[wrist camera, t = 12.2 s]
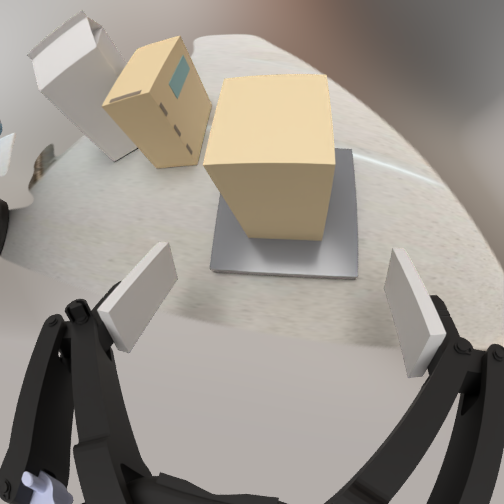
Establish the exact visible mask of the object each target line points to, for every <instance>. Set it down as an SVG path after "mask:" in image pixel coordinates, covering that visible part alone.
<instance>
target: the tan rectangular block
mask: <svg viewBox="0 0 504 504" xmlns="http://www.w3.org/2000/svg"><path fill="white" fill-rule="evenodd" d="M203 166H204V168H205V169H206V171H207V172H208V174H209V176H210V177H211V179H212V180H213V182H214V184H215V185H216V187H217V188H218V190H219V192H220V193H221V195H222V196H223V198H224V200H225V201H226V203H227V204H228V206H229V208H230V209H231V211H232V212H233V214H234V216H235V217H236V219H237V220H238V222H239V224H240V225H241V227H242V228H243V230H244V232H245V233H246V235H247V236H248V238H268V239H292V240H314V241H322V238H323V233H324V228H325V222H326V217H327V212H328V206H329V201H330V195H331V189H332V183H333V177H334V171H335V150H334V137H333V125H332V115H331V106H330V98H329V90H328V82H327V75H315V74H282V75H260V76H247V77H236V78H227V79H224V81H223V85H222V88H221V92H220V96H219V100H218V103H217V107H216V111H215V115H214V119H213V123H212V127H211V131H210V136H209V140H208V144H207V148H206V153H205V157H204V162H203Z"/></svg>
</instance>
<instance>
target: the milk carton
mask: <svg viewBox="0 0 504 504" xmlns="http://www.w3.org/2000/svg"><path fill="white" fill-rule="evenodd" d="M27 56H28V57H29V58H30V59H32V63H33V68H34V72H35V76H36V80H37V84H38V88H39V91H40V92H41V93H42V94H43V95H44V96H45V97H46V98H48V100H49V101H50V102H51V103H52V104H54V106H56V107H57V108H58V109H59V110H60V111H61V112H62V113H63V114H64V115H65V116H66V117H67V118H68V119H69V120H70V121H71V122H72V123H73V124H74V125H75V126H76V127H77V128H78V129H79V130H81V131H82V132H83V133H84V134H85V135H86V136H87V137H88V138H89V139H90V140H91V141H92V142H93V143H94V144H95V145H96V146H97V147H99V148H100V149H101V150H102V151H103V152H104V153H105V154H106V155H107V156H108V157H109V158H110V159H111V160H113V161H116V160H118V159H120V158H121V157H123V156H125V155H126V154H128V153H130V152H131V151H133V150H135V149H136V148H138V147H137V146H136V145H135V144H134V143H133V142H132V140H131V139H130V138H129V137H128V136H127V135H126V134H125V133H124V132H123V130H122V129H121V128H120V127H119V126H118V125H117V124H116V122H115V121H114V120H113V119H112V118H111V117H110V116H109V115H108V113H107V112H106V111H105V110H104V109H103V108H102V107H101V106H102V105H103V103H104V101H105V99H106V97H107V96H108V94H109V92H110V90H111V89H112V87H113V85H114V84H115V82H116V80H117V79H118V77H119V75H120V74H121V72H122V71H123V69H124V68H125V66H126V65H127V63H126V61H125V59H124V58H123V57H122V55H121V54H120V52H119V50H118V49H117V48H116V46H115V45H114V43H113V42H112V40H111V39H110V37H109V36H108V34H107V33H106V31H105V30H104V28H103V27H102V26H101V25H99V24H98V23H96V22H95V21H93V20H91V19H90V18H88V17H87V16H86V15H85V13H84V12H83V10H81V11H80V12H78V13H77V14H75V15H74V16H73V17H71V18H70V19H68V20H67V21H66V22H64V23H63V24H62V25H60V26H59V27H58V28H57V29H55V30H54V31H53V32H52V33H50V34H49V35H48V36H47V37H46V38H44V39H43V40H42V41H41V42H40V43H39V44H37V45H36V46H35V47H34V48H33V49H32V50H31V51H30V52H29V53H28V54H27Z"/></svg>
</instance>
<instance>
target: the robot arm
mask: <svg viewBox="0 0 504 504" xmlns="http://www.w3.org/2000/svg"><path fill="white" fill-rule="evenodd" d="M1 132H2V124H1V121H0V135H1ZM8 216H9V210H8V205H7V203H6V202H5V201H3V200H1V199H0V253H1V250H2V247H3V243H4V239H5V235H6V231H7V225H8ZM177 280H178V277H177V273H176V269H175V265H174V261H173V257H172V253H171V249H170V245H169V242H158V243H157V244H156V245H155V246H154V247H153V248H152V249H151V250H150V251H149V252H148V253H147V254H146V255H145V256H144V258H143V259H142V260H141V261H140V262H139V263H138V264H137V265H136V266H135V267H134V268H133V269H132V270H131V272H130V273H129V274H128V275H127V276H126V277H125V278H124V279H123V280H122V281H120V282H118V283H117V284H115V285H114V286H113V287H112V288H111V289H110V290H109V291H108V293H106V294H105V296H104V298H102V299H101V300H100V301H99V303H98V304H97V305H96V306H95V307H94V308H93V310H92V311H91V310H90V308H89V306H88V304H87V302H86V300H84V299H77V300H74V301H72V302H71V303H70V304H68V305H67V307H66V308H65V313H66V314H67V316H68V318H69V320H70V321H64V319H63V318H62V316H61V315H60V314H55V315H52V316H50V317H49V318H48V319H47V320H46V321H45V323H44V325H43V327H42V329H41V332H40V335H39V337H38V340H37V342H36V345H35V348H34V351H33V353H32V356H31V359H30V362H29V365H28V368H27V371H26V374H25V378H24V381H23V384H22V388H21V392H20V395H19V399H18V403H17V407H16V412H15V417H14V421H13V426H12V433H11V438H10V444H9V449H8V451H7V453H6V456H5V458H4V461H3V463H2V466H1V468H0V498H1V499H2V500H4V501H5V502H7V503H9V504H72V503H73V497H72V495H71V494H70V493H68V491H67V485H68V479H69V470H70V469H69V467H70V446H71V431H72V421H73V412H74V409H75V417H76V425H77V432H78V438H79V443H78V444H77V445H74V447H73V454H74V459H75V464H76V469H77V473H78V477H79V481H80V485H81V489H82V492H83V496H84V499H85V503H82V504H287V503H284V502H281V501H278V499H279V498H276V497H266V496H258V495H250V494H238V495H215V494H211V493H209V492H207V491H205V490H203V489H201V488H199V487H197V486H196V485H194V484H192V483H190V482H188V481H186V480H183V479H179V478H176V477H173V476H170V475H167V474H164V473H160V474H159V476H152V474H151V472H150V471H149V469H148V468H147V466H146V465H145V464H144V462H143V460H142V458H141V456H140V453H139V450H138V447H137V444H136V441H135V438H134V435H133V432H132V429H131V425H130V422H129V419H128V415H127V411H126V408H125V404H124V400H123V396H122V392H121V388H120V384H119V379H118V375H117V371H116V365H115V360H114V355H113V351H112V349H111V345H112V344H113V343H115V345H116V347H117V348H118V350H120V351H123V352H127V353H130V352H131V350H132V348H133V347H134V345H135V343H136V342H137V341H138V339H139V337H140V336H141V334H142V333H143V331H144V330H145V328H146V326H147V325H148V323H149V322H150V320H151V319H152V317H153V316H154V314H155V313H156V311H157V310H158V308H159V307H160V305H161V304H162V302H163V300H164V299H165V297H166V296H167V295H168V293H169V292H170V290H171V289H172V287H173V286H174V284H175V283H176V281H177ZM384 290H385V293H386V296H387V299H388V302H389V306H390V309H391V312H392V316H393V319H394V323H395V326H396V330H397V334H398V338H399V342H400V346H401V350H402V354H403V358H404V362H405V367H406V371H407V376H408V378H411V377H421V376H423V375H424V373H425V371H426V370H427V368H428V372H429V377H428V378H427V380H426V381H425V383H424V384H423V386H422V388H421V390H420V392H419V393H418V395H417V397H416V398H415V400H414V401H413V403H412V404H411V406H410V407H409V409H408V410H407V412H406V413H405V415H404V416H403V417H402V419H401V420H400V422H399V423H398V424H397V426H396V427H395V428H394V430H393V431H392V433H391V434H390V435H389V436H388V438H387V439H386V440H385V441H384V443H383V444H382V445H381V446H380V447H379V449H378V450H377V451H376V452H375V453H374V455H373V456H372V457H371V458H370V459H369V461H368V462H367V463H366V464H365V465H364V466H363V467H362V468H361V469H360V470H359V471H358V472H357V474H355V475H354V476H353V478H352V479H351V480H350V481H349V482H348V483H347V484H346V485H345V486H343V487H342V489H340V490H339V491H338V492H337V493H336V494H335V495H334V496H333V497H331V498H330V499H329V500H328V501H327V502H326V503H324V504H388V503H389V501H390V500H391V499H392V498H393V496H394V495H395V494H396V493H397V492H398V490H399V489H400V488H401V487H402V485H403V484H404V483H405V481H406V480H407V479H408V477H409V476H410V475H411V473H412V472H413V471H414V469H415V468H416V466H417V465H418V463H419V462H420V460H421V459H422V457H423V456H424V454H425V453H426V451H427V450H428V448H429V447H430V445H431V443H432V442H433V440H434V438H435V437H436V435H437V433H438V431H439V430H440V428H441V426H442V424H443V422H444V420H445V419H446V417H447V415H448V412H449V411H450V409H451V407H452V405H453V403H454V400H455V398H456V396H457V394H458V393H461V394H460V400H459V405H458V410H457V414H456V419H455V423H454V427H453V431H452V435H451V439H450V442H449V446H448V449H447V452H446V455H445V458H444V461H443V464H442V467H441V470H440V473H439V475H438V478H437V480H436V483H435V485H434V488H433V490H432V493H431V495H430V497H429V499H428V502H427V504H489V503H490V500H491V497H492V493H493V490H494V487H495V483H496V480H497V476H498V472H499V468H500V463H501V458H502V454H503V448H504V347H502V346H501V345H499V344H492V345H490V347H489V348H488V349H487V351H481V350H475V349H473V346H472V345H471V343H470V342H469V341H468V340H466V339H465V338H462V337H460V336H459V333H458V331H457V329H456V327H455V324H454V322H453V320H452V318H451V317H450V314H449V312H448V311H447V308H446V306H445V304H444V302H443V301H442V300H441V299H440V298H439V297H438V296H437V295H429V294H428V292H427V290H426V288H425V286H424V284H423V282H422V280H421V278H420V276H419V274H418V272H417V270H416V268H415V266H414V264H413V263H412V261H411V259H410V257H409V255H408V254H407V252H406V250H405V248H392V253H391V258H390V263H389V268H388V272H387V277H386V281H385V286H384ZM58 352H60V353H61V355H60V357H59V355H58Z"/></svg>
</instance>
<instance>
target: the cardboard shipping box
mask: <svg viewBox="0 0 504 504" xmlns="http://www.w3.org/2000/svg"><path fill="white" fill-rule="evenodd" d="M101 107H102V108H103V109H104V110H105V111H106V112H107V113H108V115H109V116H110V117H111V118H112V119H113V120H114V121H115V122H116V124H117V125H118V126H119V127H120V128H121V129H122V130H123V132H124V133H125V134H126V135H127V136H128V137H129V138H130V139H131V140H132V142H133V143H134V144H135V145H136V146H137V147H138V148H139V149H140V151H141V152H142V153H143V154H144V155H145V156H146V157H147V158H148V159H149V161H150V162H151V163H152V164H153V165H154V166H155V167H156V168H157V169H158V168H167V167H178V166H190V165H197V164H198V160H199V155H200V151H201V147H202V143H203V138H204V134H205V130H206V126H207V122H208V119H209V115H210V111H211V107H212V104H211V102H210V100H209V98H208V95H207V93H206V91H205V89H204V86H203V84H202V82H201V80H200V77H199V75H198V73H197V71H196V69H195V66H194V64H193V62H192V60H191V58H190V56H189V53H188V51H187V49H186V47H185V45H184V43H183V40H182V39H181V36H177V37H174V38H170V39H166V40H162V41H159V42H156V43H153V44H150V45H147V46H144V47H141V48H138V49H137V50H136V51H135V53H134V54H133V56H132V57H131V59H130V60H129V62H128V63H127V65H126V66H125V68H124V69H123V71H122V72H121V74H120V75H119V77H118V79H117V80H116V82H115V84H114V85H113V87H112V89H111V90H110V92H109V94H108V96H107V97H106V99H105V101H104V103H103V105H102V106H101Z"/></svg>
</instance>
